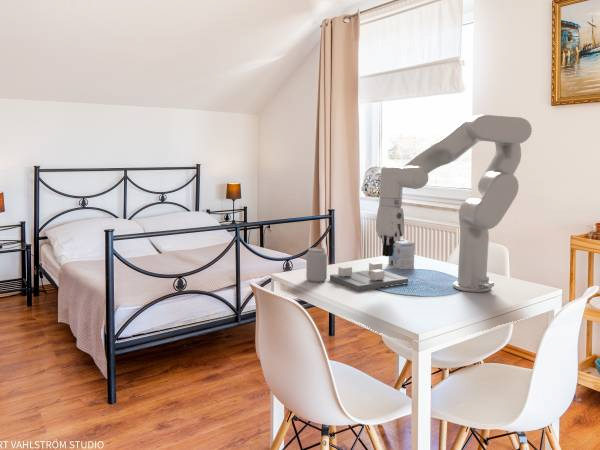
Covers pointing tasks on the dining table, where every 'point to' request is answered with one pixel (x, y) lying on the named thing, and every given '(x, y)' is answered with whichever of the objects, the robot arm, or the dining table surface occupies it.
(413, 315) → the dining table surface
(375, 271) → the handle
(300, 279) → the dining table surface
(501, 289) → the dining table surface
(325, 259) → the can
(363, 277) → the breaker panel
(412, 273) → the dining table surface
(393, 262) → the light bulb box
